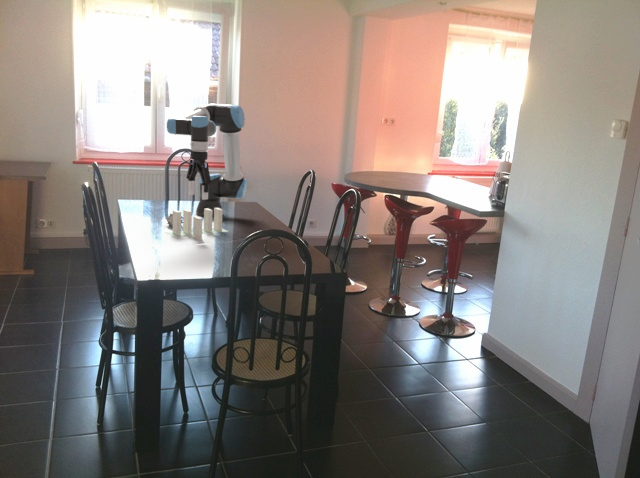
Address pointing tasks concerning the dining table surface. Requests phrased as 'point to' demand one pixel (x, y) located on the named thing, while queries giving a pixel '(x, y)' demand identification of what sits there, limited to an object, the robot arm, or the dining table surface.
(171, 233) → the board
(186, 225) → the domino
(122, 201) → the dining table surface
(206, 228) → the domino
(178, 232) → the domino
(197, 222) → the domino
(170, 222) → the game die
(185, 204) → the dining table surface
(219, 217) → the domino
